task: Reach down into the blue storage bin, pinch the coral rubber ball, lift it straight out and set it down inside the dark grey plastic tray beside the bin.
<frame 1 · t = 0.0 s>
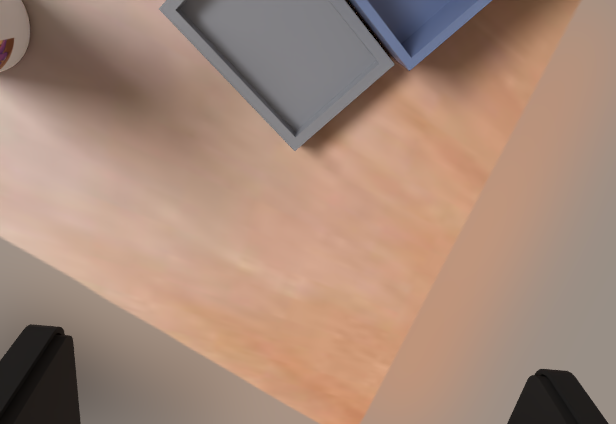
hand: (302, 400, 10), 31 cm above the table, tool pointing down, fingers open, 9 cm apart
tray: (280, 34, 36), on the table
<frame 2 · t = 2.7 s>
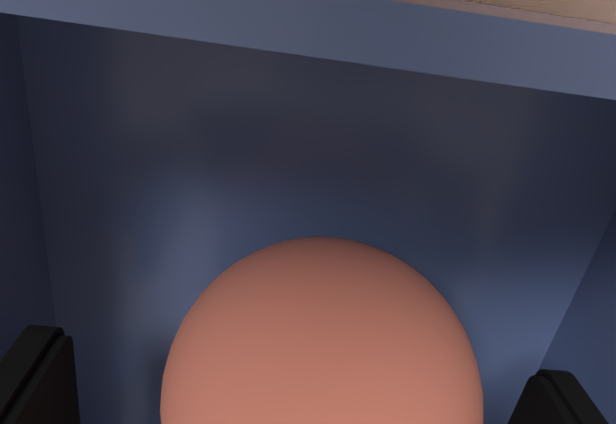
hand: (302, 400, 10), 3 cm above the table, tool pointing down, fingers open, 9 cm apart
blue storage bin: (315, 282, 13), on the table
ball: (320, 390, 9), point 4 cm above the table, touching blue storage bin
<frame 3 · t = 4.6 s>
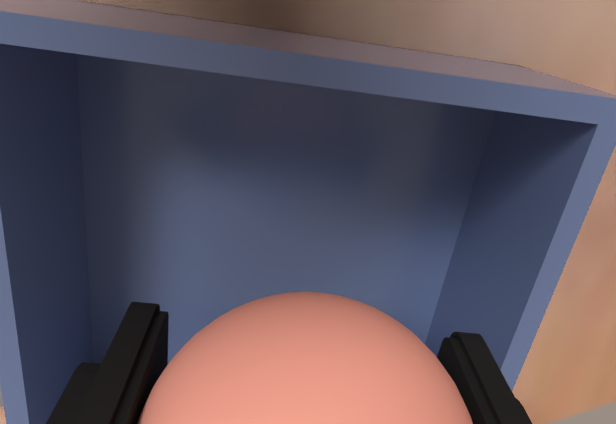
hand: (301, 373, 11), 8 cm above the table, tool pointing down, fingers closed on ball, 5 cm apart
blue storage bin: (275, 237, 18), on the table
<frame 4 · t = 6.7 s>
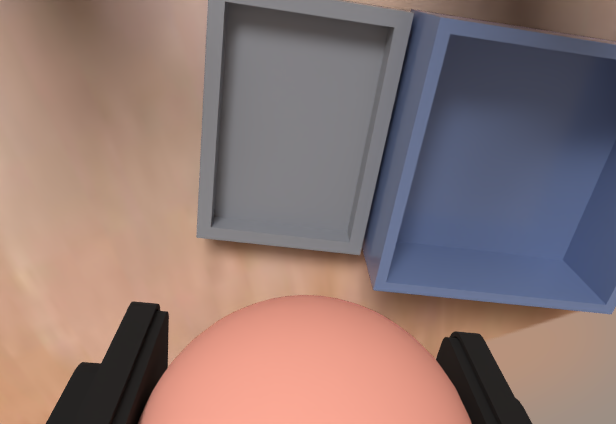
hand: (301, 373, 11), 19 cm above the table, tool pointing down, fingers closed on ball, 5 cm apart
tray: (294, 125, 28), on the table
blue storage bin: (497, 152, 29), on the table
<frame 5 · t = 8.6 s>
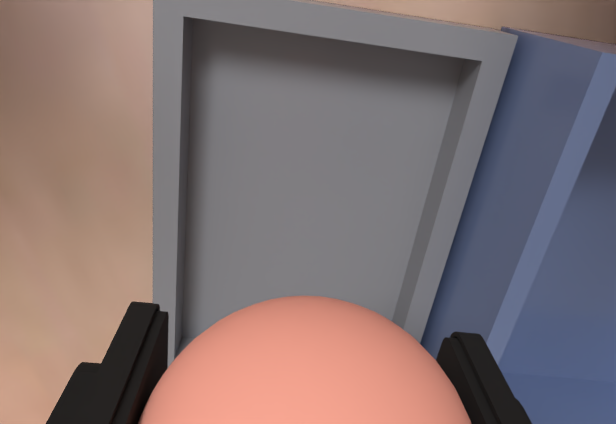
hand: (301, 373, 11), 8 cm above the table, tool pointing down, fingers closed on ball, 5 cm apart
tray: (304, 207, 18), on the table
when the fingers open (3 cm above the table, at t = 10.1 s): ball drops 2 cm, resting on tray.
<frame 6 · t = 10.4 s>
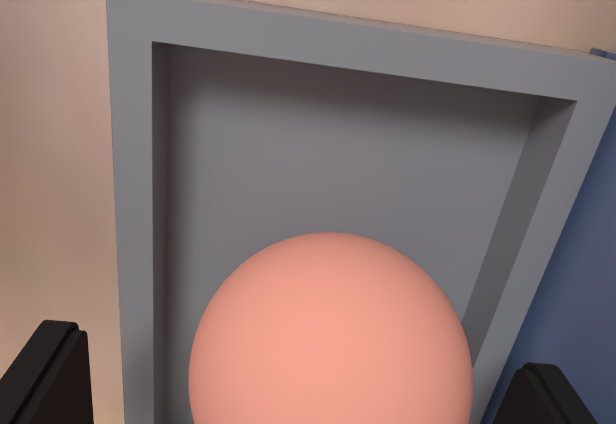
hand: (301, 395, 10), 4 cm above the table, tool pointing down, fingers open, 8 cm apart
tray: (320, 278, 14), on the table
ball: (329, 368, 11), point 4 cm above the table, touching tray
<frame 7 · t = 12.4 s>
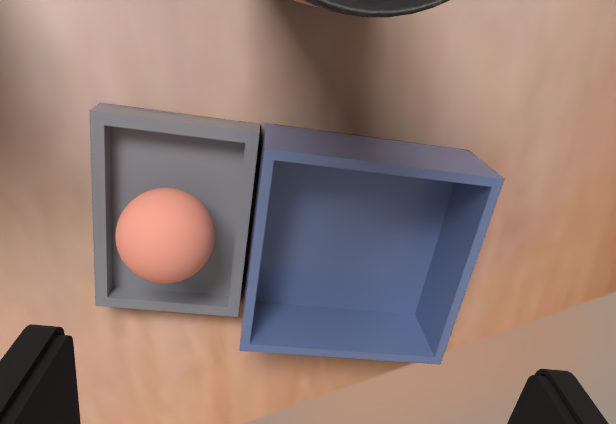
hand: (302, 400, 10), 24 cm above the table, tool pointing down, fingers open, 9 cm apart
tray: (177, 212, 33), on the table
blue storage bin: (349, 230, 35), on the table
ball: (166, 235, 30), point 4 cm above the table, touching tray
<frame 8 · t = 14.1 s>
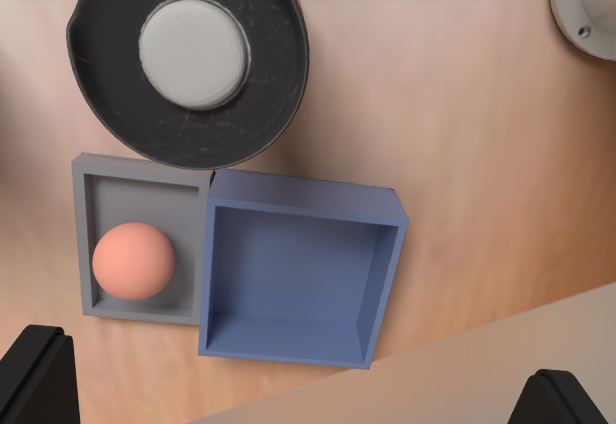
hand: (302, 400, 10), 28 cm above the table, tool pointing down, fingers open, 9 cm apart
travel mug: (244, 14, 33), on the table
tray: (148, 238, 40), on the table
blue storage bin: (295, 254, 41), on the table
ball: (135, 261, 37), point 4 cm above the table, touching tray
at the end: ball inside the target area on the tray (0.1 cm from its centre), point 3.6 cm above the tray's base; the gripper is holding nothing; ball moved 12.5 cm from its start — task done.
